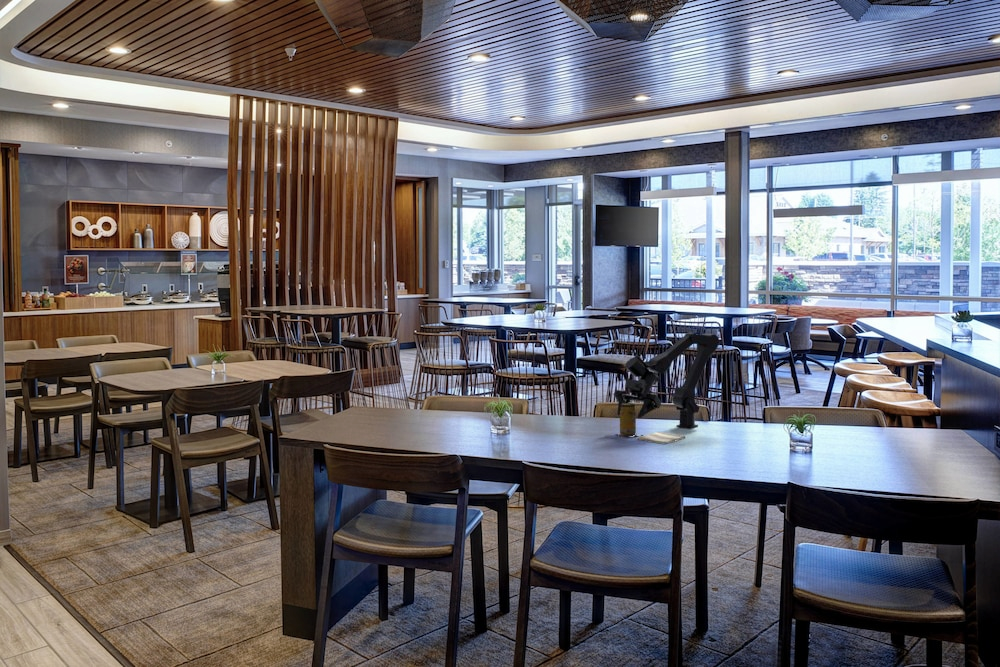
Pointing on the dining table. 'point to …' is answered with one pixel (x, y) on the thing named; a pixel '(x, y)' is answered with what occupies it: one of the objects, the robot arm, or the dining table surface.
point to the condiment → (627, 419)
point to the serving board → (661, 437)
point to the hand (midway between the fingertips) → (628, 416)
